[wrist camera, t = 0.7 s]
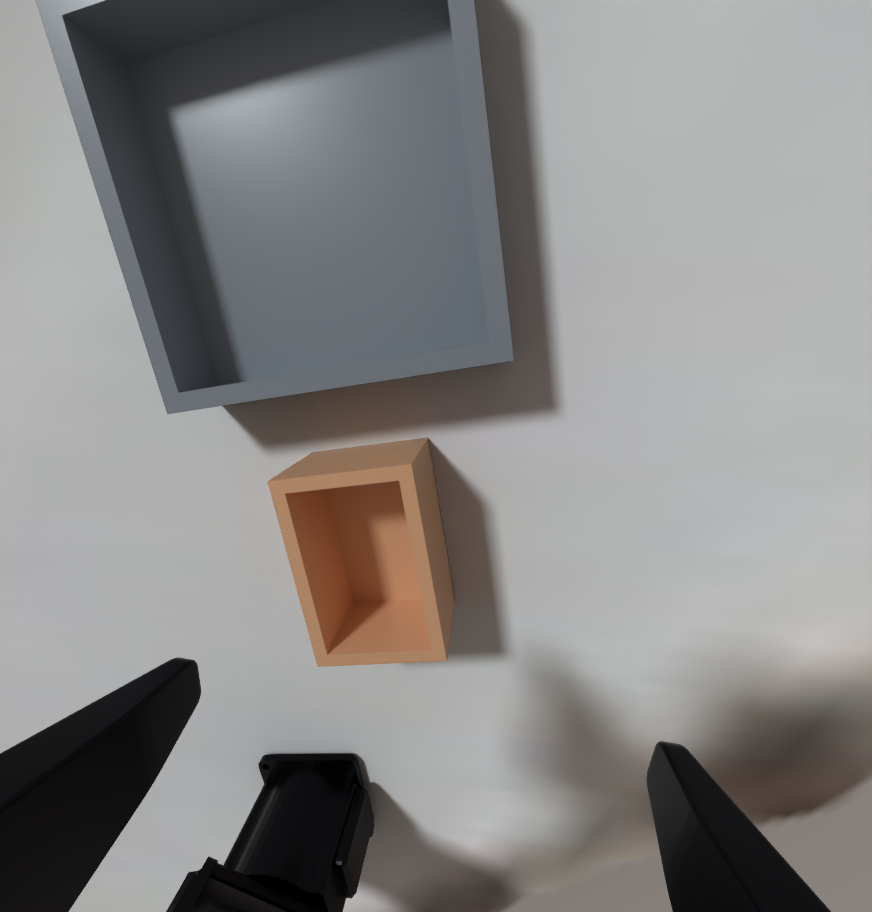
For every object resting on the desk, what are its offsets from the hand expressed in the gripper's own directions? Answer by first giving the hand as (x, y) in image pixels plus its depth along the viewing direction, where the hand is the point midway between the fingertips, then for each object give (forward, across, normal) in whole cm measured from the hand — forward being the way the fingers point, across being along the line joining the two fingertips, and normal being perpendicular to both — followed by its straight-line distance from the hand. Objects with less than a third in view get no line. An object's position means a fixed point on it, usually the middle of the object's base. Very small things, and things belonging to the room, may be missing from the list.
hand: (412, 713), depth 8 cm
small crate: (+13, +4, +3) cm, 14 cm away
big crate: (+14, +7, -11) cm, 19 cm away
